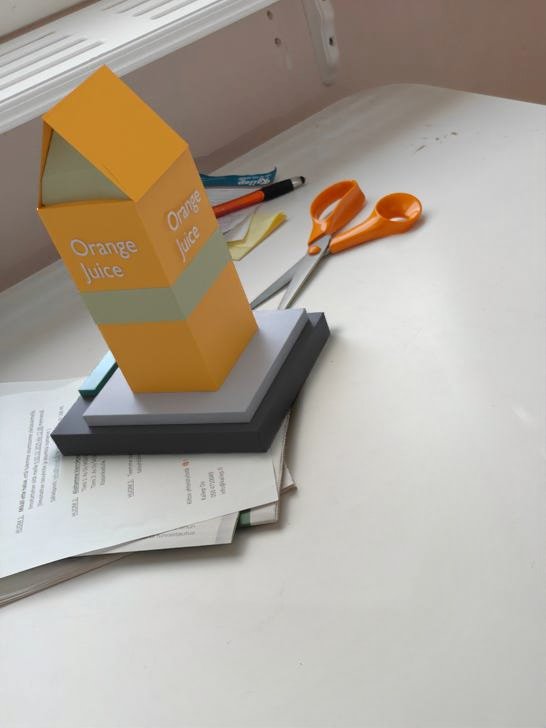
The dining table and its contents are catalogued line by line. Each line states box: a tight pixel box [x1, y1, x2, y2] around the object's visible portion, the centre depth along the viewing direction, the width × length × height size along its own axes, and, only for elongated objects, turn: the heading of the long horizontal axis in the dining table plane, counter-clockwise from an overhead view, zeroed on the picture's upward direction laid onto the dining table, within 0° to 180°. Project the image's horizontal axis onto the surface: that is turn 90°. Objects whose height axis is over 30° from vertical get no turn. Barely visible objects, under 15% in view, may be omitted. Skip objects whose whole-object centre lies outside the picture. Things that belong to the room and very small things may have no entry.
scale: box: [49, 307, 331, 456], centre depth 78 cm, size 18×16×3 cm
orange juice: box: [35, 64, 258, 393], centre depth 69 cm, size 8×9×20 cm
